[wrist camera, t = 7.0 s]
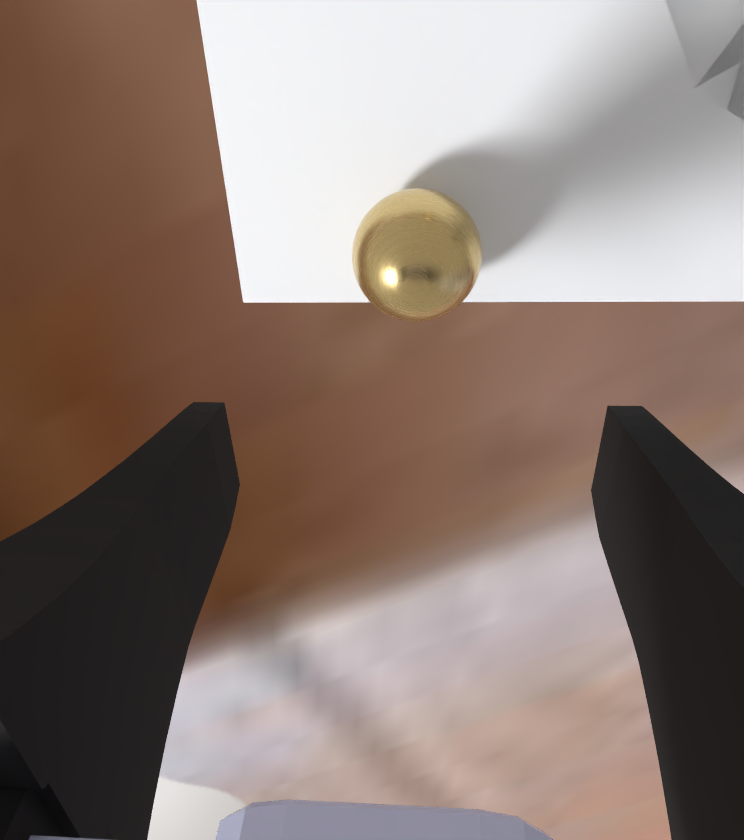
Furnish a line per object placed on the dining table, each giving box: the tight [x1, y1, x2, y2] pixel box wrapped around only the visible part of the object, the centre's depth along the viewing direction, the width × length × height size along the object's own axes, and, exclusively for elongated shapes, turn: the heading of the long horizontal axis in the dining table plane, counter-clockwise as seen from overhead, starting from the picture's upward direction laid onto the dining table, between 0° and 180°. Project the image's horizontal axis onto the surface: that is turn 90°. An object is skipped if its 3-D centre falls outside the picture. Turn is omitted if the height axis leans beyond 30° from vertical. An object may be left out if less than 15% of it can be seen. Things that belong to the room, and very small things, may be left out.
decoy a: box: [352, 188, 482, 322], centre depth 17 cm, size 3×3×3 cm
